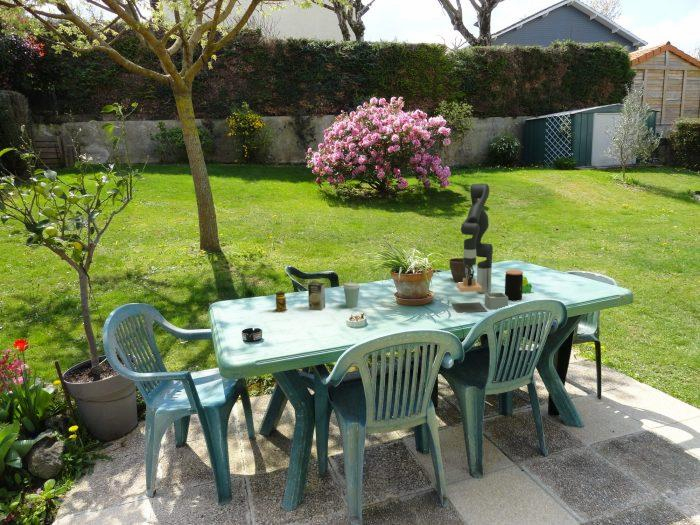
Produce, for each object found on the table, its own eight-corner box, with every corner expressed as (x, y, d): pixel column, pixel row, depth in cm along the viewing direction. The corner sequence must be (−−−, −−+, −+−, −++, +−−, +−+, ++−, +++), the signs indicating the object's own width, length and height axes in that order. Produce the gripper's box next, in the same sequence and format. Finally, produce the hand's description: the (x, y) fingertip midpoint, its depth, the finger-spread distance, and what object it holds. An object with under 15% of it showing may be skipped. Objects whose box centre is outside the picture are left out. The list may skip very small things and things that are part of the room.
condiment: (284, 312, 308) (282, 294, 305) (271, 312, 310) (270, 293, 308) (288, 309, 315) (287, 290, 312) (276, 308, 317) (275, 290, 315)
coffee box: (308, 309, 313) (307, 284, 310) (312, 306, 319) (311, 281, 315) (322, 310, 310) (320, 285, 307) (325, 307, 316) (324, 282, 312)
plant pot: (471, 283, 359) (472, 262, 356) (451, 284, 360) (451, 262, 356) (467, 278, 374) (467, 257, 371) (447, 279, 374) (447, 258, 371)
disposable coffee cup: (352, 302, 324) (351, 280, 321) (364, 305, 316) (363, 282, 313) (340, 306, 316) (339, 283, 313) (352, 309, 309) (351, 286, 306)
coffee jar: (523, 301, 314) (524, 273, 310) (505, 301, 316) (506, 273, 312) (520, 296, 324) (522, 269, 320) (503, 296, 326) (504, 269, 322)
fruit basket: (529, 290, 338) (530, 274, 336) (532, 294, 330) (533, 277, 327) (512, 290, 339) (512, 274, 337) (515, 294, 331) (515, 277, 328)
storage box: (484, 303, 312) (485, 293, 310) (502, 303, 312) (502, 292, 310) (489, 309, 301) (489, 298, 299) (507, 308, 301) (508, 297, 299)
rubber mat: (451, 303, 314) (451, 303, 314) (479, 302, 314) (479, 302, 314) (457, 312, 297) (457, 312, 296) (487, 311, 297) (487, 311, 296)
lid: (456, 286, 309) (456, 276, 308) (476, 286, 309) (477, 275, 308) (460, 292, 297) (461, 281, 295) (482, 291, 297) (482, 280, 295)
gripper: (460, 254, 306) (460, 281, 309) (466, 258, 292) (465, 287, 295) (473, 253, 306) (472, 281, 309) (478, 258, 292) (478, 287, 295)
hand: (469, 284), depth 302 cm, fingers closed on lid, 3 cm apart
